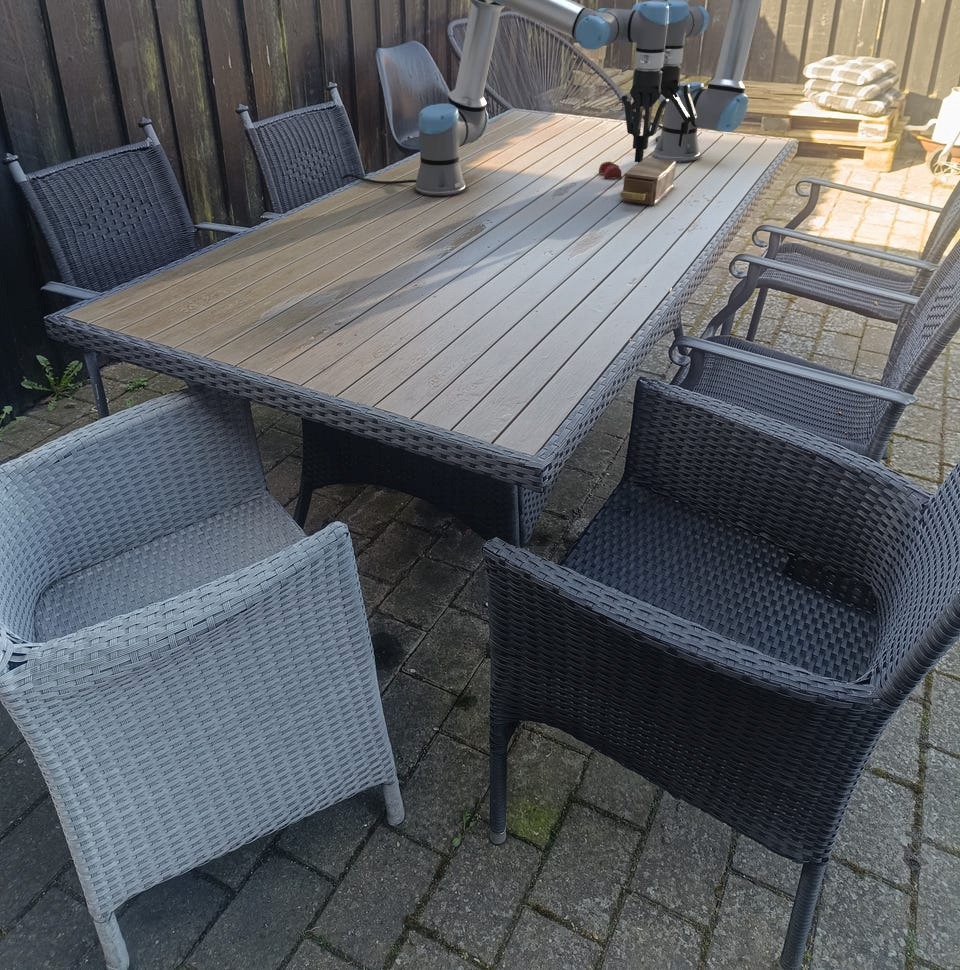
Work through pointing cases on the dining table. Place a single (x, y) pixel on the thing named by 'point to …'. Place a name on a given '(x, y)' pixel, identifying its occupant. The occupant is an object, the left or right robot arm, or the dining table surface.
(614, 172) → the dental model
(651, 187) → the drawer
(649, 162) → the cabinet
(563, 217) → the dining table surface
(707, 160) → the dining table surface
